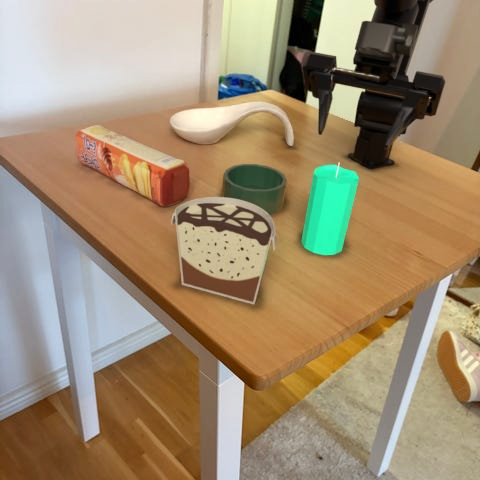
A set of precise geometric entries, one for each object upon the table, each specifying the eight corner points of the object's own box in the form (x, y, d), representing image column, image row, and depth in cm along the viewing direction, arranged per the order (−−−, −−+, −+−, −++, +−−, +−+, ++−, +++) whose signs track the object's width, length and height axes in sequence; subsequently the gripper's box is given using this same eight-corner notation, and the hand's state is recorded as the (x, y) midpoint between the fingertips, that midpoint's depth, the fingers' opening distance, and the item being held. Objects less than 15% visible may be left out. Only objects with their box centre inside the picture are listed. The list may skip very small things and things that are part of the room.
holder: (261, 183, 88) (263, 160, 86) (295, 208, 82) (299, 184, 80) (211, 193, 84) (212, 169, 82) (243, 220, 78) (245, 195, 76)
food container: (280, 280, 67) (291, 209, 61) (266, 308, 62) (277, 233, 56) (190, 257, 69) (192, 186, 63) (170, 281, 65) (170, 207, 58)
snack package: (74, 165, 88) (69, 125, 83) (106, 156, 92) (103, 116, 88) (160, 213, 78) (160, 169, 73) (192, 200, 82) (194, 158, 77)
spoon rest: (169, 149, 96) (169, 109, 92) (169, 126, 105) (169, 88, 101) (296, 155, 99) (302, 116, 95) (286, 132, 108) (291, 95, 104)
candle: (332, 260, 72) (352, 176, 64) (293, 245, 74) (307, 163, 66) (349, 242, 76) (369, 162, 68) (312, 228, 78) (327, 149, 70)
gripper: (318, -18, 67) (279, 93, 66) (469, 4, 63) (429, 125, 62) (323, 40, 78) (289, 136, 77) (452, 63, 74) (418, 166, 72)
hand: (352, 140), depth 72 cm, fingers open, 9 cm apart
